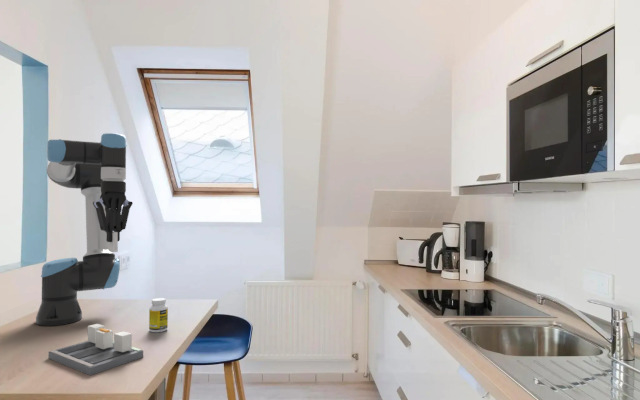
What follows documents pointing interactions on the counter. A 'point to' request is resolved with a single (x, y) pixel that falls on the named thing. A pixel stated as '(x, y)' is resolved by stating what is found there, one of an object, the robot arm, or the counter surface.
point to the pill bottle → (158, 315)
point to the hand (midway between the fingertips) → (113, 251)
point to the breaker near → (122, 341)
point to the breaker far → (93, 332)
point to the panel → (93, 357)
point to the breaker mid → (104, 338)
